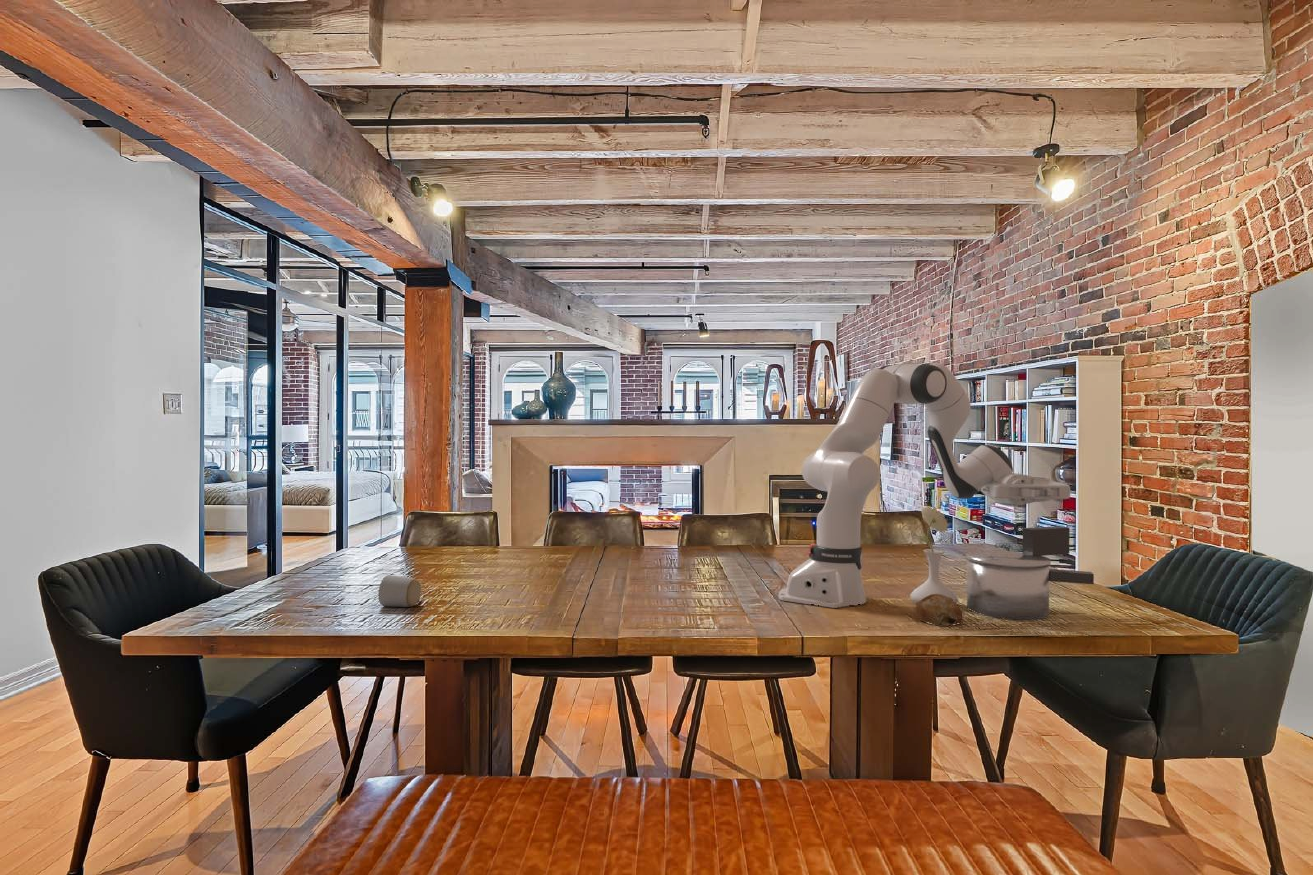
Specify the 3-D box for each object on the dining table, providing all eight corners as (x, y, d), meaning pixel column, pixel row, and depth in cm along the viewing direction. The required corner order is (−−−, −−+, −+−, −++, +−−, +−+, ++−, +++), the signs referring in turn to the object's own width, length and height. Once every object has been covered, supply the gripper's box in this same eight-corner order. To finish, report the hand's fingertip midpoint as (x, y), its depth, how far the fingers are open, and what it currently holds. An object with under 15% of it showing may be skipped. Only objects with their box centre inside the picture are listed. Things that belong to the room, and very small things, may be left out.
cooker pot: (968, 615, 161) (969, 565, 161) (964, 598, 178) (965, 553, 178) (1101, 628, 151) (1101, 574, 151) (1083, 608, 168) (1084, 560, 167)
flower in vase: (966, 610, 166) (966, 509, 165) (919, 610, 166) (920, 509, 166) (944, 597, 179) (944, 504, 178) (901, 597, 179) (901, 503, 179)
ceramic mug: (408, 610, 165) (409, 579, 165) (377, 609, 166) (377, 578, 166) (428, 600, 175) (428, 571, 176) (398, 599, 176) (398, 570, 176)
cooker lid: (1007, 570, 154) (1008, 537, 154) (949, 556, 172) (949, 526, 172) (1098, 563, 163) (1098, 532, 163) (1033, 550, 180) (1033, 522, 180)
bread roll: (927, 641, 153) (938, 613, 149) (902, 612, 162) (911, 585, 158) (964, 638, 155) (975, 610, 152) (937, 609, 164) (947, 582, 161)
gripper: (980, 477, 191) (1003, 481, 177) (1053, 478, 190) (1082, 481, 176) (979, 500, 191) (1003, 505, 177) (1053, 500, 190) (1082, 505, 176)
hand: (1043, 493), depth 177 cm, fingers open, 2 cm apart
